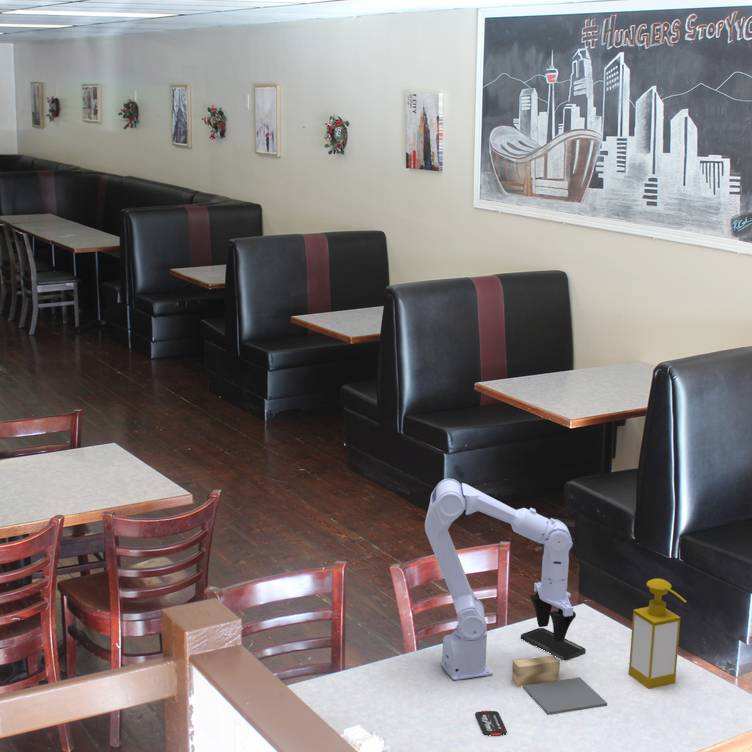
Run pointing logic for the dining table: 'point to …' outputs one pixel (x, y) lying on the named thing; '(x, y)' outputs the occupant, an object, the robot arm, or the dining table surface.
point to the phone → (553, 644)
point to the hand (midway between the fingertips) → (550, 633)
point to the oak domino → (535, 670)
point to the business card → (490, 723)
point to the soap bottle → (655, 639)
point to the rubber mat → (564, 695)
